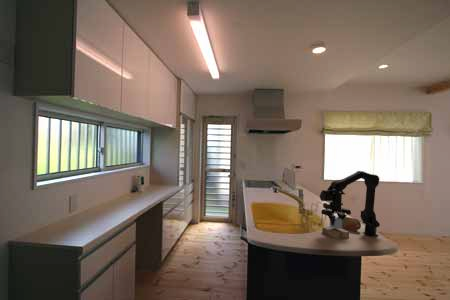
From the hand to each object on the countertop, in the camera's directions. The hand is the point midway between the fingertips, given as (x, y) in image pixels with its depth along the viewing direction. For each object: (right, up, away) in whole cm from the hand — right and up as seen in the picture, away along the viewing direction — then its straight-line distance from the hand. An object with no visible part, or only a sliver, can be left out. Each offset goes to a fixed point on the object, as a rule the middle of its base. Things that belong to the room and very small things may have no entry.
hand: (335, 225), depth 151 cm
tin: (+15, -7, +13) cm, 22 cm away
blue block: (0, -1, 0) cm, 1 cm away
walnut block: (0, -7, 0) cm, 7 cm away
